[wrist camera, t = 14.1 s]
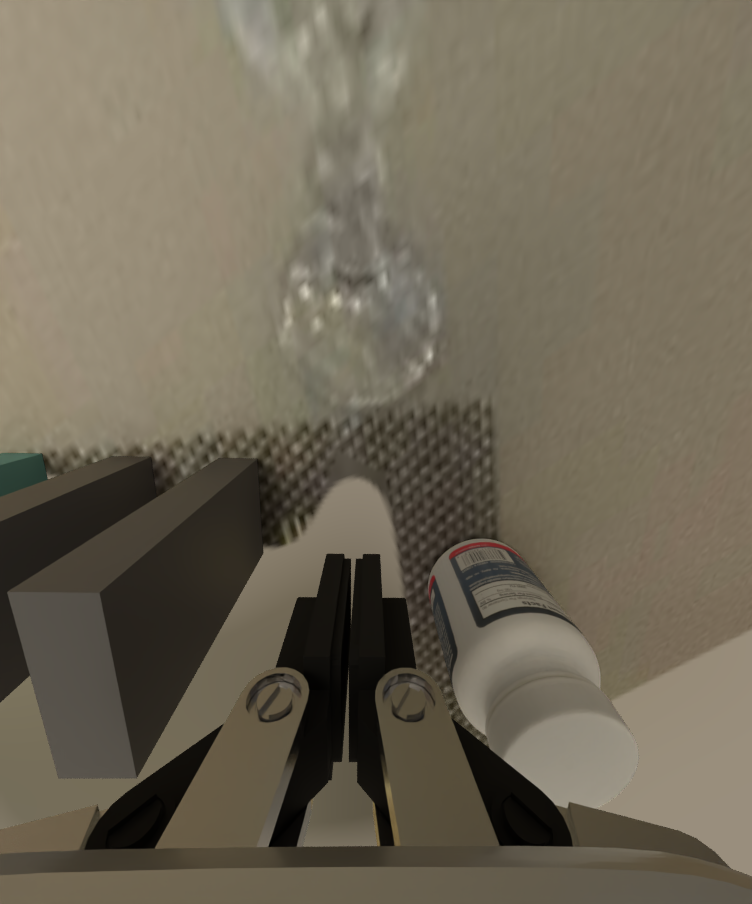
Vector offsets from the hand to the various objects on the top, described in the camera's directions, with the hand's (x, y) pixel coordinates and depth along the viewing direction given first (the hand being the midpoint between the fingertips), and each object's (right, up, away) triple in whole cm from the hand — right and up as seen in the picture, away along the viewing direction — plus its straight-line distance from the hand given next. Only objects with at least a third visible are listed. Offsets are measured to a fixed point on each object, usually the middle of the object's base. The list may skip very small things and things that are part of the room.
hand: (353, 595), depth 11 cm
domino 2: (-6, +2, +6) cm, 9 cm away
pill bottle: (+6, -2, +8) cm, 10 cm away
